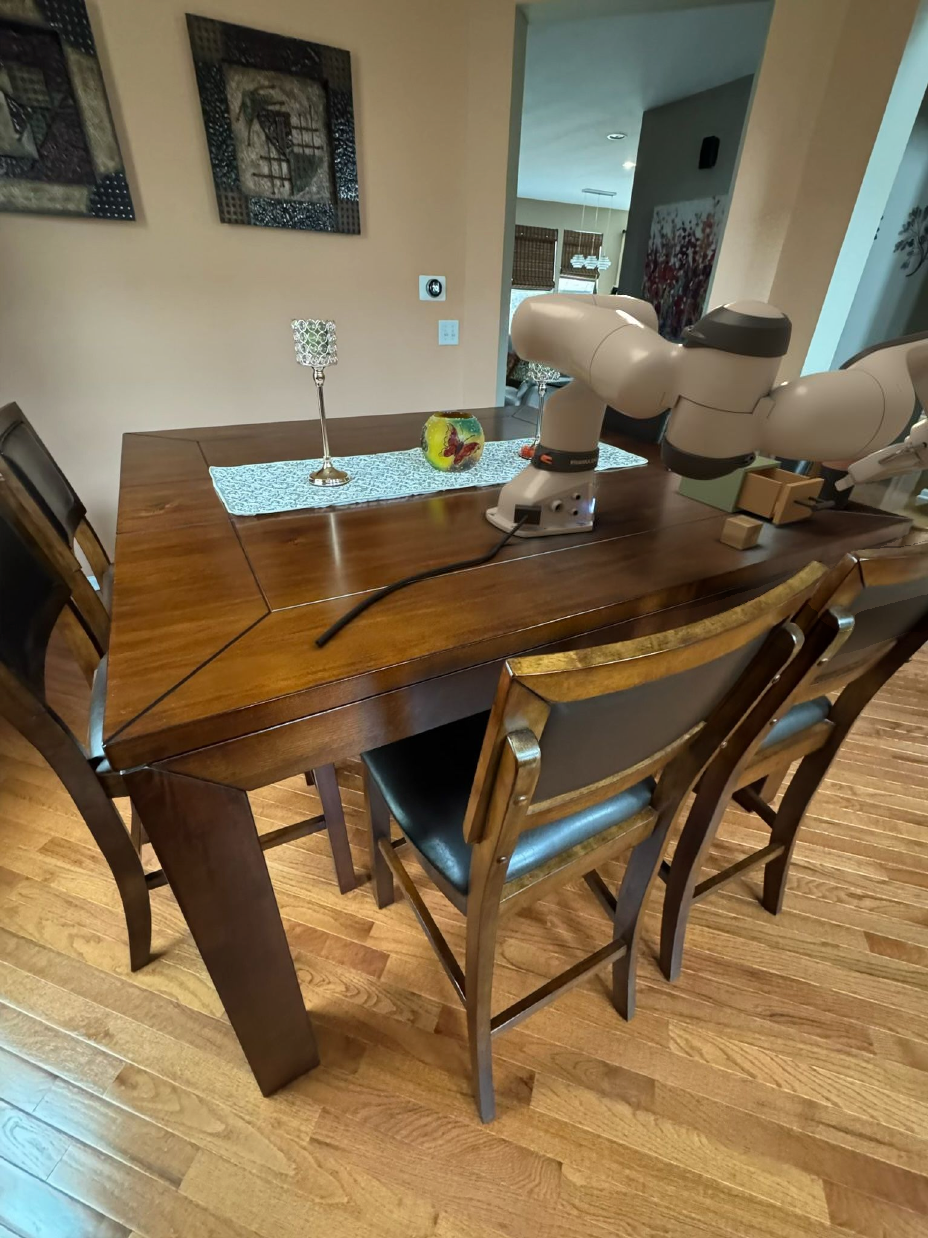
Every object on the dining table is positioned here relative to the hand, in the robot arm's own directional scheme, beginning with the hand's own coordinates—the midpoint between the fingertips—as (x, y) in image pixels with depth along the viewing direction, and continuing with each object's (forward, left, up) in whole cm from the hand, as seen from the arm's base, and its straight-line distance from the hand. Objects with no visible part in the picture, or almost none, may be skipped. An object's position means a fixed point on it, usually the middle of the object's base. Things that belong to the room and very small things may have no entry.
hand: (852, 483), depth 99 cm
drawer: (0, +12, -10) cm, 16 cm away
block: (-20, +6, -11) cm, 24 cm away
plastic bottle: (+21, +31, -11) cm, 39 cm away
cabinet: (0, +25, -11) cm, 27 cm away
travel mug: (+20, +12, -11) cm, 26 cm away
